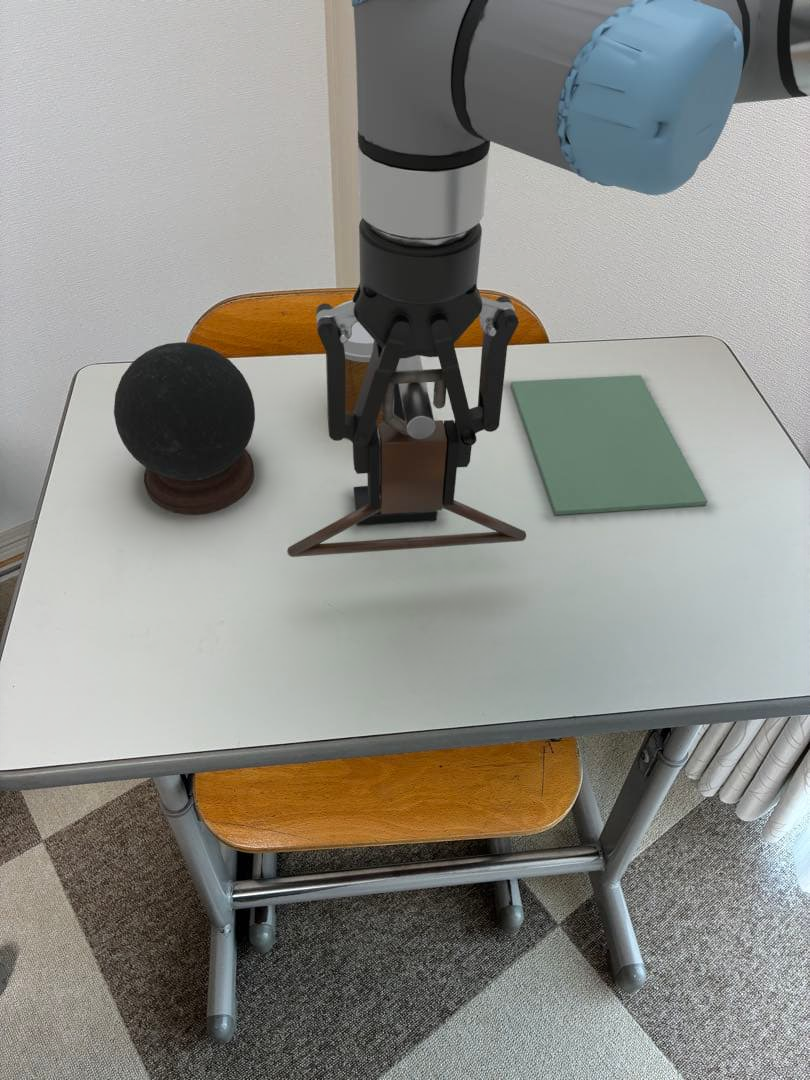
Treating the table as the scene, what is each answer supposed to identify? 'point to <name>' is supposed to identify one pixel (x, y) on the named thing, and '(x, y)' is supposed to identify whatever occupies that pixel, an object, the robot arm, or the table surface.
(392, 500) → the hanger
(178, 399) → the black ball on stand
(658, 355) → the table surface
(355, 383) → the disposable coffee cup
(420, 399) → the black and grey stand
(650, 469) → the mat
